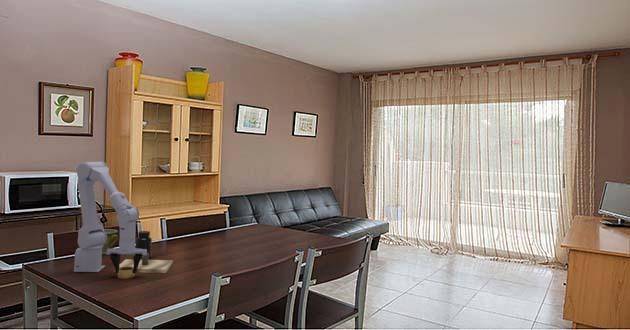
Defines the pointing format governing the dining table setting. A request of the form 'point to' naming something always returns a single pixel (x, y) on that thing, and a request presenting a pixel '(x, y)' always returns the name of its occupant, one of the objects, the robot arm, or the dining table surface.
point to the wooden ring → (126, 272)
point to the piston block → (148, 265)
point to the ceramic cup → (109, 240)
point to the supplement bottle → (144, 241)
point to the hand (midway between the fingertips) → (126, 272)
